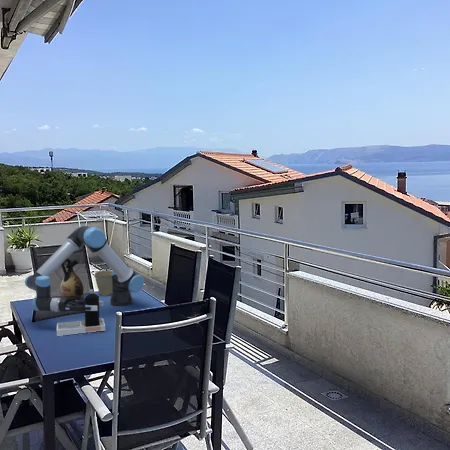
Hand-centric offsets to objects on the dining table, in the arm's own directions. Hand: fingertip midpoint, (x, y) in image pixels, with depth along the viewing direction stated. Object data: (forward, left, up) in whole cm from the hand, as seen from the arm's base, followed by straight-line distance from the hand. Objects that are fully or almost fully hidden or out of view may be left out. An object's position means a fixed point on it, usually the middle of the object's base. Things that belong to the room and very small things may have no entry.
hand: (100, 305), depth 252 cm
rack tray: (+10, -2, -13) cm, 17 cm away
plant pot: (-9, -74, -14) cm, 76 cm away
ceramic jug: (+15, -63, -14) cm, 67 cm away
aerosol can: (+4, -2, -11) cm, 12 cm away
